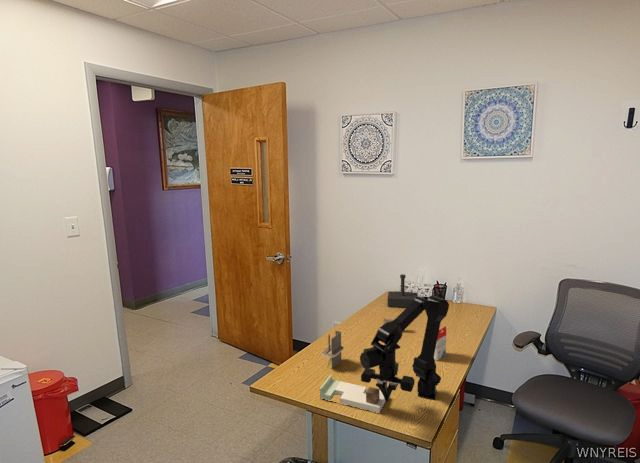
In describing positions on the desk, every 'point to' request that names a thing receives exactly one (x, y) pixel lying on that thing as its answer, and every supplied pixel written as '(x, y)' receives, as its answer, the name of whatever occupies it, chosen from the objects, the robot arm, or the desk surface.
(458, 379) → the desk surface
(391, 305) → the dark post stand
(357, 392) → the board
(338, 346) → the architectural model
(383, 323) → the model
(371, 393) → the walnut block
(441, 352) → the ink box
